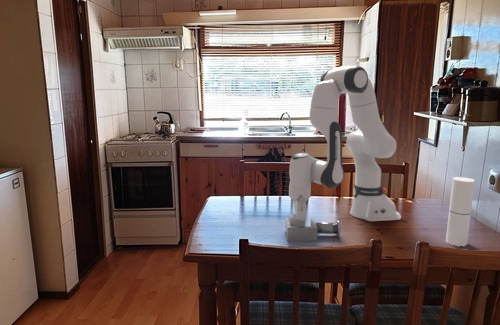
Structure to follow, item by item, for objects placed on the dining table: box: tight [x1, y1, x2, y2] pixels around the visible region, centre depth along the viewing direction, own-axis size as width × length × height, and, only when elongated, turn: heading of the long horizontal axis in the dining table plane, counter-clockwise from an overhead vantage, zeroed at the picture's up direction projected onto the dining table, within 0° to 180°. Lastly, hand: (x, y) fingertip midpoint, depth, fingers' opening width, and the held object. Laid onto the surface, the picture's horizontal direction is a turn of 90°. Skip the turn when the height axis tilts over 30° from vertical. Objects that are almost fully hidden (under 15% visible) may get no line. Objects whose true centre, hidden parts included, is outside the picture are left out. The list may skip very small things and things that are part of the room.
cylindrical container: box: [445, 176, 476, 247], centre depth 138 cm, size 7×7×25 cm
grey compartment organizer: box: [285, 217, 342, 242], centre depth 146 cm, size 21×10×6 cm, turn 88°
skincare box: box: [288, 213, 306, 226], centre depth 148 cm, size 6×6×7 cm
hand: (298, 224), depth 153 cm, fingers closed
